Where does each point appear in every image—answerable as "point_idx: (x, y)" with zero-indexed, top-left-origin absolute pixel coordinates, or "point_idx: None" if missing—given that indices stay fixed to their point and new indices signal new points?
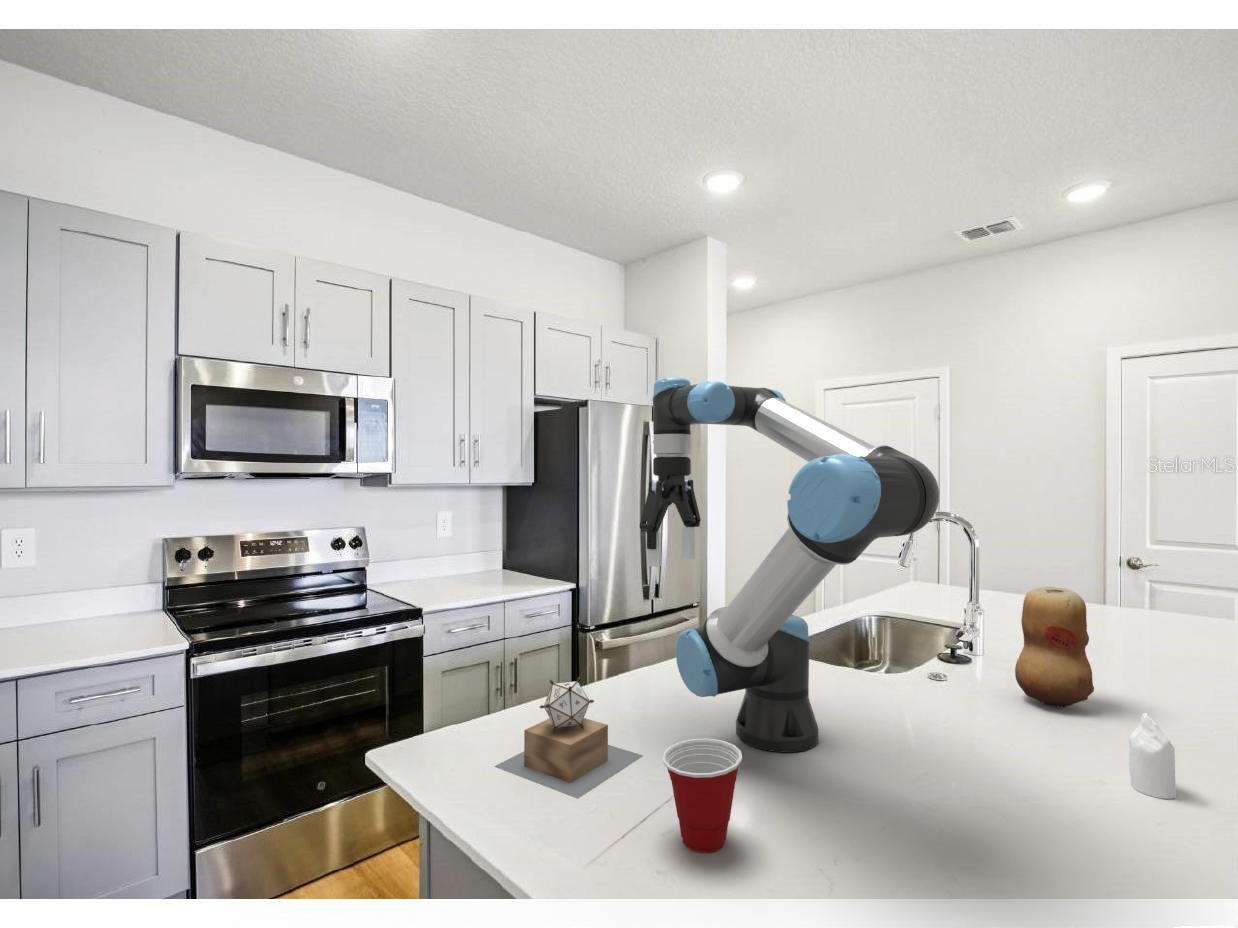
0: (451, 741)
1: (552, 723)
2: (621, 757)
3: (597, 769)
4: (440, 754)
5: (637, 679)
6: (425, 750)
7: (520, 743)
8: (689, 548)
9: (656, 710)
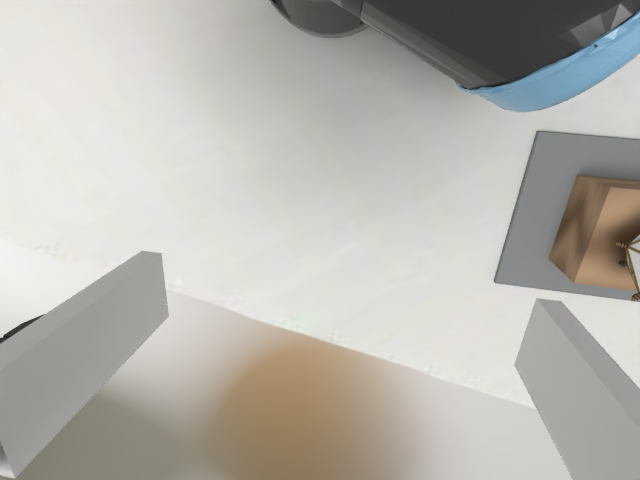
0: None
1: None
2: (559, 159)
3: (618, 171)
4: None
5: (228, 288)
6: None
7: None
8: (128, 302)
9: (336, 202)
